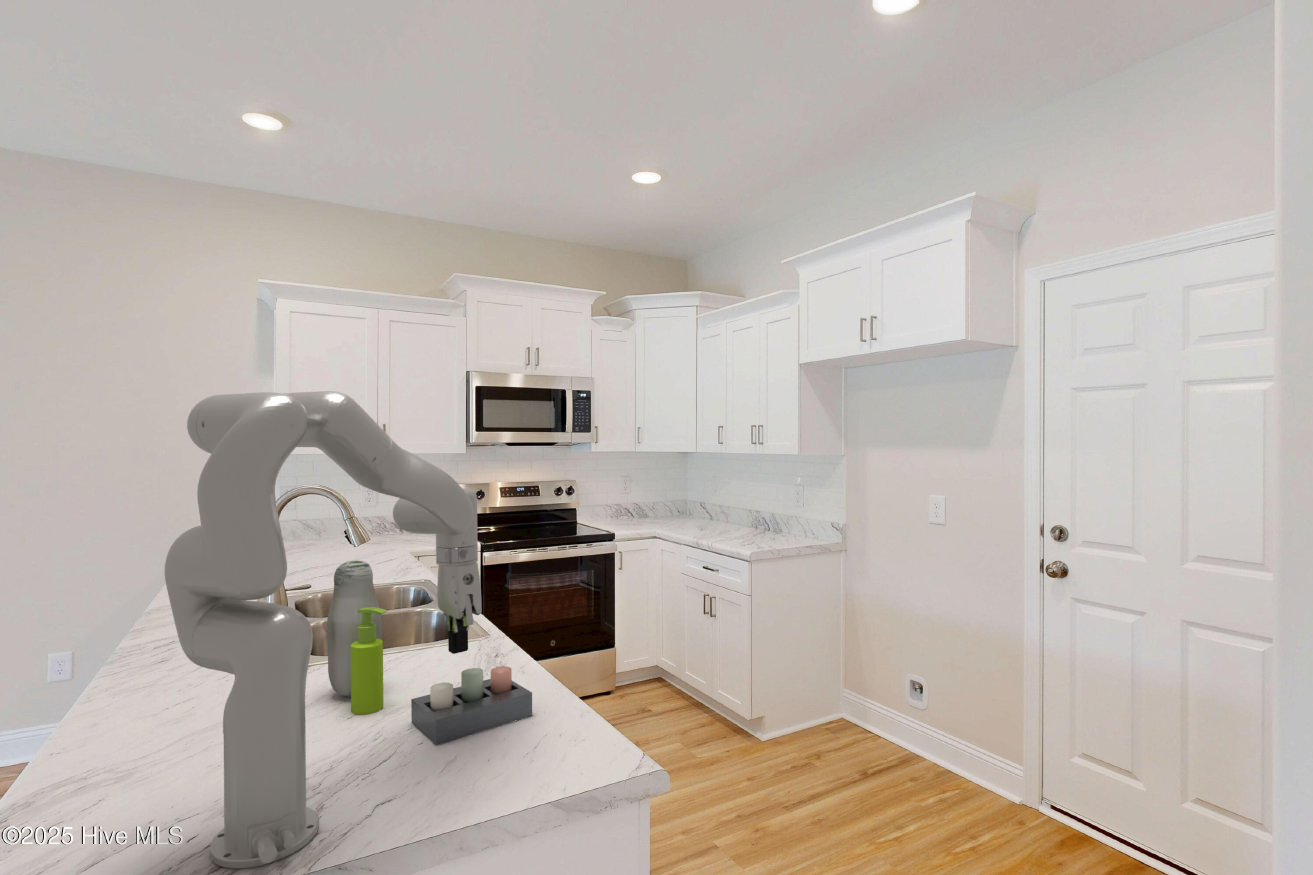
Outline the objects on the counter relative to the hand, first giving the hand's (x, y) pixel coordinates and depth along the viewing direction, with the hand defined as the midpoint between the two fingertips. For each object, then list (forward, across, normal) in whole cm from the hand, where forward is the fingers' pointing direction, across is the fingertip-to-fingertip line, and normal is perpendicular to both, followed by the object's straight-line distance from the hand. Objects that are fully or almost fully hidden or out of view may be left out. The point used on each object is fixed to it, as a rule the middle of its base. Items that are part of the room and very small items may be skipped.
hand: (458, 651), depth 126 cm
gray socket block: (+14, 0, -2) cm, 14 cm away
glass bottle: (+14, +28, +11) cm, 33 cm away
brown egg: (+11, 0, -9) cm, 14 cm away
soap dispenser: (+14, +18, +11) cm, 25 cm away
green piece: (+10, 0, -3) cm, 10 cm away
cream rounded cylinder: (+11, 0, +3) cm, 11 cm away
